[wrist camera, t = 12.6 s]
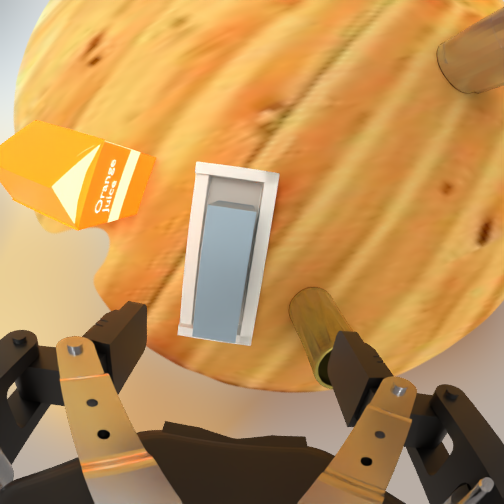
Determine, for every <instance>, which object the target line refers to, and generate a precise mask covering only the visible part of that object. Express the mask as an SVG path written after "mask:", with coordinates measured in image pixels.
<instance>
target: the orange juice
mask: <svg viewBox="0 0 504 504" xmlns="http://www.w3.org/2000/svg"><path fill="white" fill-rule="evenodd" d="M155 160H156V158H155V157H152V156H149V155H146V154H143V153H140V152H138V151H135V150H132V149H129V148H126V147H123V146H119V145H116V144H113V143H110V142H107V141H105V140H104V139H101V138H100V137H99V138H98V137H97V136H96V137H94V136H91V135H88V134H84V133H81V132H80V131H79V132H77V131H74V130H70V129H67V128H63V127H60V126H56V125H52V124H49V123H45V122H41V121H37V120H35V121H34V122H32V123H31V124H29V125H28V126H26V127H25V128H23V129H22V130H20V131H19V132H17V133H16V134H15V135H13V136H12V137H10V138H9V139H8V140H6V141H5V142H4V143H2V144H1V145H0V182H1V183H2V185H3V186H4V187H5V189H6V190H7V191H8V193H9V194H10V195H11V197H12V198H13V200H14V201H16V202H18V203H20V204H22V205H24V206H26V207H28V208H30V209H33V210H35V211H37V212H39V213H41V214H43V215H45V216H47V217H49V218H52V219H54V220H56V221H58V222H60V223H62V224H64V225H67V226H69V227H71V228H73V229H75V230H81V229H85V228H88V227H91V226H95V225H98V224H102V223H106V222H111V221H115V220H118V219H120V218H124V217H128V216H132V215H135V214H137V211H138V208H139V205H140V202H141V199H142V196H143V193H144V190H145V187H146V185H147V182H148V179H149V176H150V173H151V171H152V168H153V165H154V163H155Z"/></svg>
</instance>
